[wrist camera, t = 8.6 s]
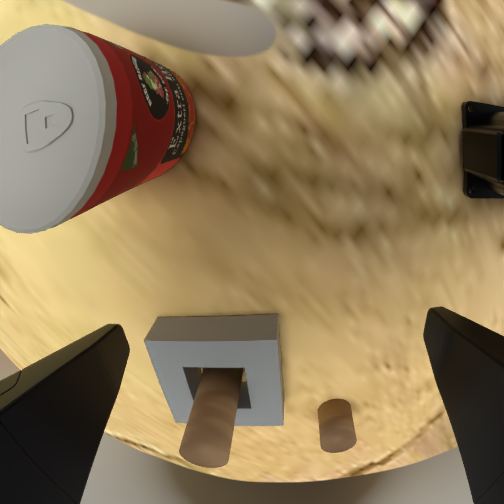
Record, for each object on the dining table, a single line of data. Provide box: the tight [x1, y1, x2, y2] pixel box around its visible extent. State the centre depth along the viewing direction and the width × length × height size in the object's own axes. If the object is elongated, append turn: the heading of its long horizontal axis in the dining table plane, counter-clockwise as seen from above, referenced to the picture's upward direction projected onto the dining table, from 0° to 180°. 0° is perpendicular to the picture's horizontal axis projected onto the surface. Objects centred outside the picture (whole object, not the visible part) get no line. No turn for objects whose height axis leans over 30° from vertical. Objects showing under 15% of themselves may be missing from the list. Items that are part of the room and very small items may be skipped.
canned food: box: [0, 24, 195, 234], centre depth 13 cm, size 8×8×11 cm
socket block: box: [144, 314, 284, 426], centre depth 23 cm, size 9×9×3 cm
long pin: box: [179, 367, 243, 468], centre depth 20 cm, size 3×3×9 cm
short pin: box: [318, 399, 356, 453], centre depth 24 cm, size 3×3×4 cm
